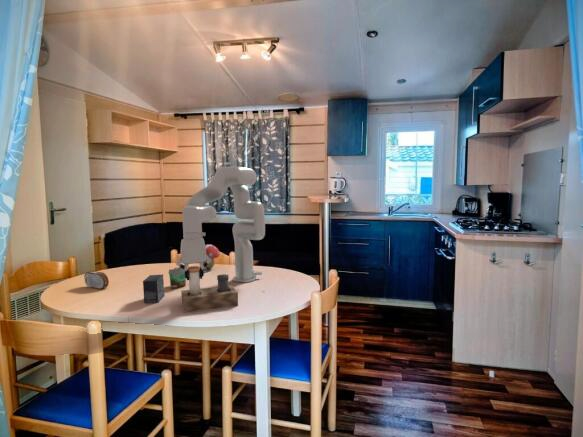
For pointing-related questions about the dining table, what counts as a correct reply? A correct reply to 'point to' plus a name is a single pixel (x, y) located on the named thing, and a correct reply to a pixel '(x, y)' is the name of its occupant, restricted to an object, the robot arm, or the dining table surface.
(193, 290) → the orange-brown and white plug
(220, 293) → the block
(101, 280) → the tin
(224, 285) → the black plug
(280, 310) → the dining table surface
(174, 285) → the food container
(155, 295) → the small box
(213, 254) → the decorative mushroom
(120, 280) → the dining table surface
